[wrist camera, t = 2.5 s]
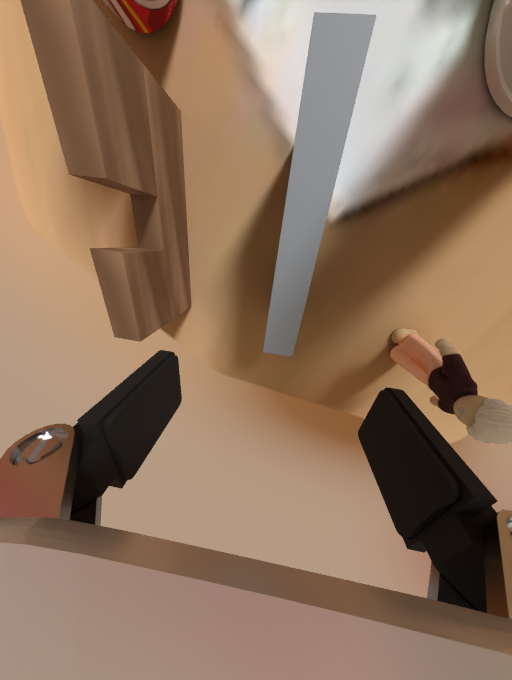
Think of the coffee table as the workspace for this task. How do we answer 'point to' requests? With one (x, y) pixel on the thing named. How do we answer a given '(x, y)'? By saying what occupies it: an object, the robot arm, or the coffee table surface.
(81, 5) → the walnut slotted plate
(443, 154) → the coffee table surface
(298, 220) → the grey slotted plate
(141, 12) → the soda can
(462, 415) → the grandmother figurine
